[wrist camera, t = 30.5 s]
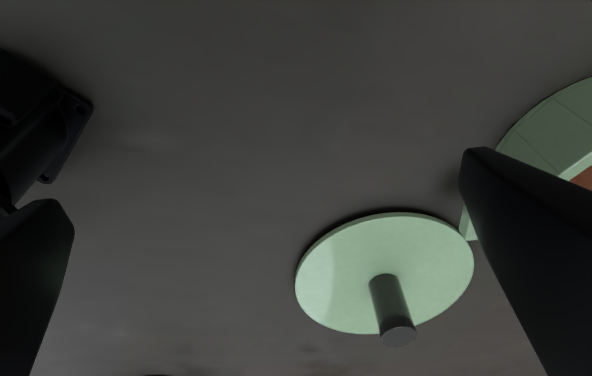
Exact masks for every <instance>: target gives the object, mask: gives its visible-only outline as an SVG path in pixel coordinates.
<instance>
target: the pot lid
mask: <svg viewBox="0 0 592 376" xmlns="http://www.w3.org/2000/svg"><path fill="white" fill-rule="evenodd" d="M473 269H474V257H473V254H472V250H471V248H470V246H469V244H468V242H467V241H465V240H464V238H463V237H462V235H461V233H460V232H459V231H458V230H457V229H455V228H454V227H453V226H451V225H450V224H448V223H446V222H445V221H442V220H440V219H437V218H435V217H432V216H428V215H424V214H418V213H411V212H391V213H381V214H375V215H370V216H366V217H362V218H359V219H356V220H353V221H351V222H348V223H345V224H343V225H341V226H339V227H337V228H335V229H333V230H332V231H330V232H329V233H327V234H325V235H324V236H323V237H322V238H320V239H319V240H318V241H316V242H315V243H314V244H313V245H312V246H311V247H310V248H309V249H308V251H307V252H306V253H305V255H304V256H303V257H302V259H301V261H300V263H299V265H298V268H297V271H296V274H295V294H296V297H297V300H298V302H299V304H300V306H301V307H302V309H303V310H304V311H305V313H306V314H308V315H309V316H310V317H311V318H312V319H314V320H315V321H316V322H318V323H320V324H322V325H324V326H326V327H329V328H331V329H334V330H338V331H342V332H348V333H355V334H379V333H380V337H381V341H382V342H383V343H384V344H385V345H387V346H391V347H399V346H404V345H407V344H409V343H411V342H412V341H413V340H414V339H415V338H416V336H417V332H416V329H415V325H418V324H420V323H423V322H425V321H427V320H429V319H431V318H433V317H435V316H436V315H438V314H440V313H441V312H443V311H444V310H446V309H447V308H448V307H449V306H451V305H452V304H453V303H454V302H455V301H456V300H457V299H458V298H459V297H460V296H461V295H462V293H463V292H464V291H465V289H466V288H467V286H468V284H469V282H470V280H471V277H472V274H473Z"/></svg>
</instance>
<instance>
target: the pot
mask: <svg viewBox="0 0 592 376" xmlns="http://www.w3.org/2000/svg"><path fill="white" fill-rule="evenodd" d="M495 151H497V152H500V153H502V154H505V155H507V156H509V157H512V158H514V159H517V160H519V161H521V162H524V163H526V164H529V165H531V166H533V167H536V168H538V169H541V170H543V171H545V172H548V173H550V174H553V175H555V176H557V177H560V178H562V179H565V180H567V181H570V180H571V179H572V178H574V177H575V176H577V175H578V174H580V173H581V172H582V171H584V170H585V169H587V168H588V167H590V166H591V165H592V77H589V78H586V79H584V80H582V81H579V82H577V83H574V84H572V85H570V86H568V87H566V88H564V89H562V90H560V91H558V92H556V93H555V94H553V95H551V96H550V97H548V98H547V99H545V100H543V101H542V102H541V103H539V104H538V105H537V106H535V107H534V108H533V109H531V110H530V111H529V112H528V113H526V114H525V115H524V116H523V117H522V118H521V119H520V120H519V121H517V122H516V124H515V125H514V126H513V127H512V128H511V129H510V130H509V131H508V132H507V133H506V135H505V136H504V137H503V139H502V140H501V141H500V142H499V144H498V145H497V147H496V149H495ZM459 231H460V233H461V235H462V237H463V238H464V240H465V241H469V240H478V239H477V236H476V233H475V231H474V228H473V225H472V223H471V220H470V217H469V215H468V212H467V209H466V207H465V204H464V205H463V210H462V215H461V220H460V225H459Z"/></svg>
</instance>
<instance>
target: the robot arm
mask: <svg viewBox="0 0 592 376" xmlns="http://www.w3.org/2000/svg"><path fill="white" fill-rule="evenodd" d="M79 106H83V107H84V108H85V110H86V111H83V110H81V109H80V108H79ZM93 110H94V108H93V105H92V104H91V102H90V101H88V100H87V99H85V98H83V97H82V96H80V95H78V94H77V93H75V92H73V91H71V90H70V89H68V88H66V87H65V86H63V85H61V84H59V83H58V82H56V81H55V79H53V78H52V77H50V76H48V75H46V74H45V73H43V72H41V71H40V70H38V69H36V68H35V67H33V66H31V65H29V64H28V63H26V62H24V61H23V60H21V59H19V58H17V57H16V56H14V55H12V54H11V53H9V52H7V51H5V50H1V49H0V376H29V375H30V372H31V369H32V367H33V364H34V361H35V359H36V356H37V353H38V351H39V348H40V345H41V343H42V340H43V337H44V335H45V332H46V329H47V327H48V324H49V321H50V319H51V316H52V313H53V311H54V308H55V306H56V303H57V300H58V297H59V294H60V290H61V287H62V283H63V279H64V275H65V271H66V267H67V263H68V259H69V255H70V252H71V248H72V244H73V240H74V235H75V230H74V226H73V224H72V222H71V221H70V219H69V217H68V216H67V214H66V213H65V211H64V209H63V208H62V206H61V205H60V203H59V202H58V201H57V200H55V199H52V198H49V199H41V200H35V201H32V202H30V203H29V204H27V205H25V206H24V207H22V208H20V209H19V210H18V209H17V208H16V207H15V205H16V203H17V202H18V201H19V200H20V199H21V197H22V196H23V195H24V194H25V193H26V191H27V190H28V189H29V188H30V187H31V185H32V184H33V183H34V182H35V181H36V180H37V181H39V182H41V183H44V184H51V183H52V182H53V181H54V180H55V178H56V177H57V175H58V173H59V172H60V170H61V168H62V166H63V164H64V163H65V161H66V159H67V157H68V156H69V154H70V152H71V150H72V148H73V147H74V145H75V143H76V141H77V139H78V138H79V136H80V134H81V132H82V131H83V129H84V127H85V125H86V123H87V122H88V120H89V118H90V116H91V115H92V113H93ZM44 174H46V175H47V176H48V177H47V176H45V175H44ZM458 186H459V190H460V193H461V196H462V199H463V201H464V204H465V207H466V209H467V212H468V215H469V217H470V220H471V223H472V225H473V228H474V231H475V233H476V236H477V239H478V241H479V244H480V246H481V248H482V250H483V252H484V254H485V256H486V258H487V260H488V262H489V264H490V266H491V268H492V270H493V272H494V274H495V276H496V278H497V279H498V281H499V283H500V285H501V287H502V289H503V291H504V293H505V295H506V297H507V299H508V300H509V302H510V304H511V306H512V308H513V310H514V312H515V314H516V316H517V318H518V320H519V322H520V323H521V325H522V327H523V329H524V331H525V333H526V335H527V337H528V339H529V341H530V343H531V344H532V346H533V348H534V350H535V352H536V354H537V356H538V358H539V360H540V362H541V364H542V366H543V367H544V369H545V371H546V373H547V375H548V376H592V191H591V190H589V189H586V188H584V187H581V186H579V185H577V184H574V183H572V182H569V181H567V180H565V179H562V178H560V177H557V176H555V175H553V174H550V173H548V172H545V171H543V170H541V169H538V168H536V167H533V166H531V165H529V164H526V163H524V162H521V161H519V160H517V159H514V158H512V157H509V156H507V155H505V154H502V153H500V152H497V151H495V150H493V149H490V148H488V147H476V148H468V149H466V150H465V151H464V153H463V157H462V162H461V168H460V173H459V179H458Z"/></svg>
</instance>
